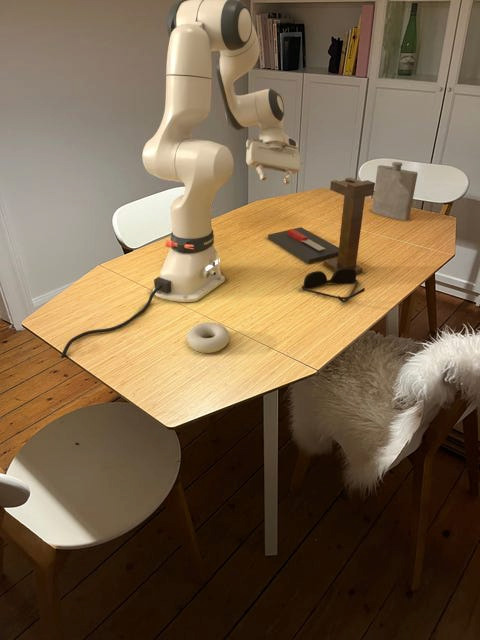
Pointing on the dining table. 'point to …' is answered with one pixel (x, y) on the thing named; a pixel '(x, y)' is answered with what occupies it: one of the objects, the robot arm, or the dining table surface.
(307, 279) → the sunglasses
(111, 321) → the dining table surface
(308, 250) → the cutting board
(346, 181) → the wooden post stand
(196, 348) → the donut
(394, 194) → the hip flask
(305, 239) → the knife
